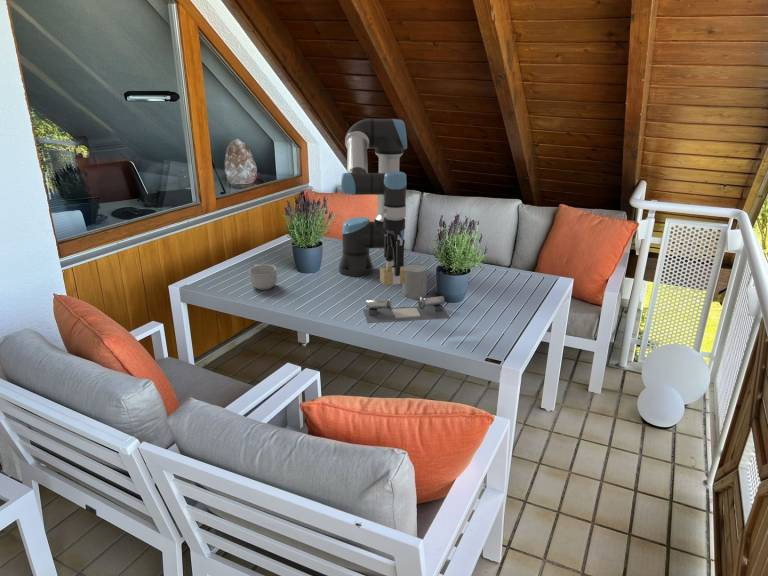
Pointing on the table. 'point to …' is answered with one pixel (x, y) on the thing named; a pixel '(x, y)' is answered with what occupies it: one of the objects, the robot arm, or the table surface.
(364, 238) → the robot arm
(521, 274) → the table surface
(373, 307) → the shaft
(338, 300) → the table surface
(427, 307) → the board
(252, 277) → the teacup
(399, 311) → the off-white flat plate
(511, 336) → the table surface
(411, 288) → the speckled tin can
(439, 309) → the shaft
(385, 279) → the coupler
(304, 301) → the table surface
